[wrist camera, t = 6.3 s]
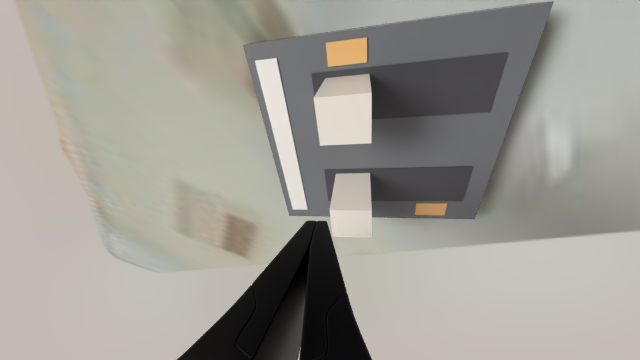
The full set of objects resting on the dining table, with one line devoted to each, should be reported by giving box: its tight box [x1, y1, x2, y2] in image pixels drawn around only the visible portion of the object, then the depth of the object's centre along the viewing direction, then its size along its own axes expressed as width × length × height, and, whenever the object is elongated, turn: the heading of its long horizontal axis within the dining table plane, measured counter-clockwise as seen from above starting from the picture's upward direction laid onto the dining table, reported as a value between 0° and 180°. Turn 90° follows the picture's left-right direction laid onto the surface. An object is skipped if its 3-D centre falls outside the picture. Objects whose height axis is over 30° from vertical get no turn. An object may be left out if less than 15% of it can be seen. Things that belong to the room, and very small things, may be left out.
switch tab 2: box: [330, 173, 372, 238], centre depth 19 cm, size 3×3×5 cm
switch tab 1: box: [314, 74, 372, 146], centre depth 14 cm, size 3×3×5 cm
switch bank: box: [243, 1, 554, 219], centre depth 19 cm, size 18×16×2 cm
